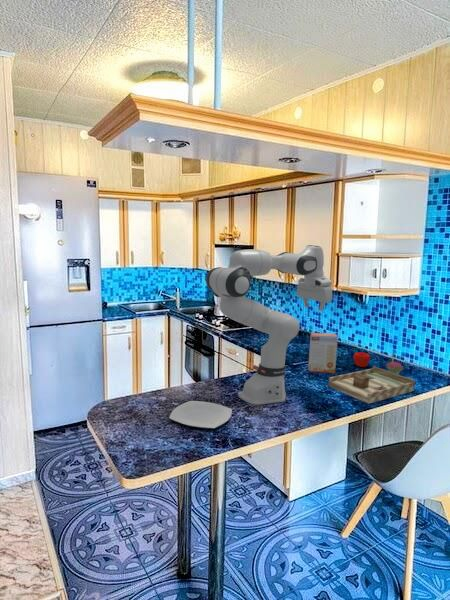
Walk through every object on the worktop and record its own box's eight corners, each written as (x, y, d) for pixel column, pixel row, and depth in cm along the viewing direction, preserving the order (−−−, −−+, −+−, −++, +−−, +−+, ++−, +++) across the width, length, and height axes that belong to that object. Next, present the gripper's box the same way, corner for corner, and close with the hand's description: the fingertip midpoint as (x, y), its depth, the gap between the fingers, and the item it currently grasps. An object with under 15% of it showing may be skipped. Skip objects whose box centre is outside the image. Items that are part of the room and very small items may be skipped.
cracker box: (333, 370, 233) (336, 333, 229) (335, 374, 227) (338, 336, 223) (307, 368, 234) (310, 331, 231) (308, 372, 228) (311, 334, 225)
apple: (351, 367, 240) (352, 353, 239) (354, 363, 248) (355, 350, 247) (367, 370, 236) (369, 356, 235) (370, 366, 244) (371, 352, 243)
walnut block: (361, 389, 199) (362, 378, 198) (353, 385, 203) (353, 375, 202) (368, 387, 201) (369, 377, 201) (359, 383, 205) (360, 374, 205)
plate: (188, 402, 181) (188, 397, 181) (238, 412, 173) (238, 408, 173) (161, 423, 160) (161, 418, 160) (217, 436, 152) (217, 431, 152)
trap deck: (368, 403, 188) (369, 392, 187) (328, 386, 207) (329, 375, 207) (413, 391, 206) (415, 380, 205) (372, 376, 226) (373, 366, 225)
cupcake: (385, 375, 227) (387, 354, 226) (385, 371, 235) (387, 350, 234) (402, 378, 225) (405, 356, 223) (401, 373, 233) (403, 352, 231)
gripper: (293, 278, 204) (293, 305, 207) (324, 283, 187) (324, 313, 190) (303, 276, 207) (303, 303, 210) (334, 281, 190) (334, 311, 193)
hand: (313, 308), depth 200 cm, fingers open, 8 cm apart
